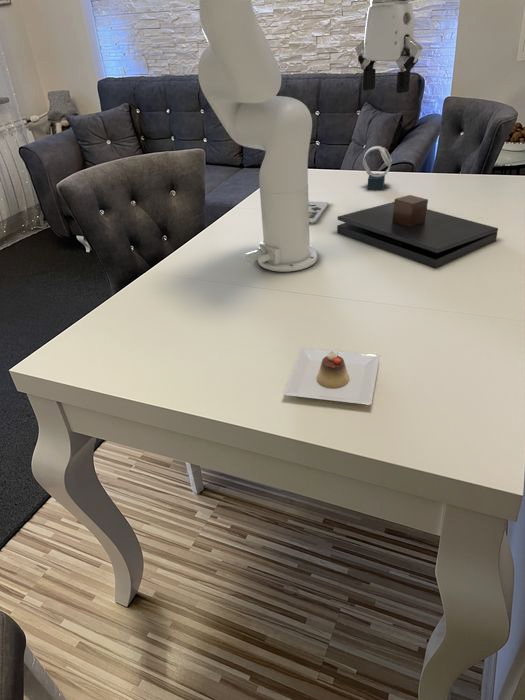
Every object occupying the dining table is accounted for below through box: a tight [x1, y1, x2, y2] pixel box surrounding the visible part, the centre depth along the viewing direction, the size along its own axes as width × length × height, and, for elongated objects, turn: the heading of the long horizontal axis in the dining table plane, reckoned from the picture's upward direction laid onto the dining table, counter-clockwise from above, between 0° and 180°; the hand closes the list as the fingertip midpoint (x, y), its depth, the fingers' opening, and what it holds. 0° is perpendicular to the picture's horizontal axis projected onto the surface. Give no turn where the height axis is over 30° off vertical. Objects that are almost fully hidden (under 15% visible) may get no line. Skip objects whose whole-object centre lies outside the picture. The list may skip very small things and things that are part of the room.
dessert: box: [281, 347, 381, 406], centre depth 75 cm, size 12×12×5 cm
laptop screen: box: [336, 201, 499, 253], centre depth 118 cm, size 20×28×1 cm
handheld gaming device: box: [308, 200, 329, 225], centre depth 137 cm, size 9×1×15 cm
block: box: [392, 194, 429, 227], centre depth 117 cm, size 5×5×5 cm
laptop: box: [336, 222, 498, 269], centre depth 119 cm, size 20×28×2 cm
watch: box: [362, 145, 393, 191], centre depth 149 cm, size 6×8×11 cm
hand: (385, 90), depth 116 cm, fingers open, 9 cm apart
